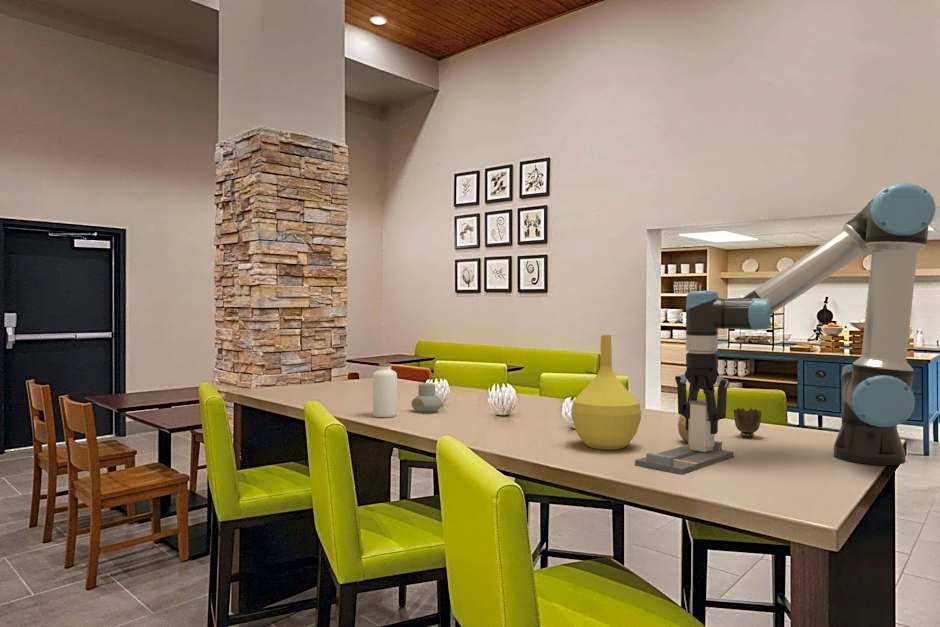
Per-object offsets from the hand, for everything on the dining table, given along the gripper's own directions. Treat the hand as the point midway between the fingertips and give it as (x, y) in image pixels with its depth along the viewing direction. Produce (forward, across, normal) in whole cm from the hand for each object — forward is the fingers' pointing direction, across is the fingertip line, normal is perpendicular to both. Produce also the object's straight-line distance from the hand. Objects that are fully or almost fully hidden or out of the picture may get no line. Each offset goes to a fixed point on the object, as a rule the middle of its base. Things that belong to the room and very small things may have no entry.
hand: (701, 445), depth 163 cm
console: (+3, 0, +8) cm, 8 cm away
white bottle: (+3, +103, +22) cm, 105 cm away
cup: (+3, +2, -32) cm, 32 cm away
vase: (+3, +23, +8) cm, 25 cm away
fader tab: (+1, 0, 0) cm, 1 cm away
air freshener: (+3, +101, +5) cm, 101 cm away
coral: (+3, +9, -14) cm, 17 cm away
